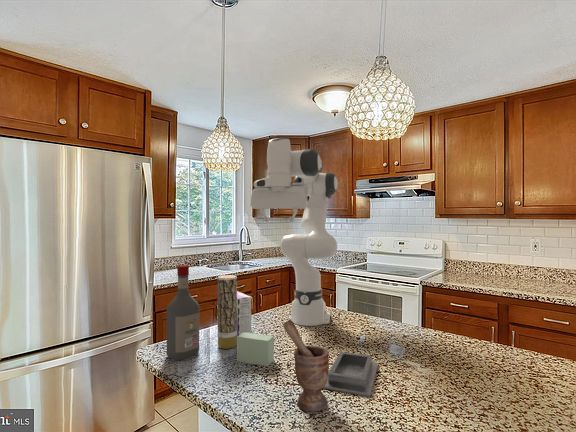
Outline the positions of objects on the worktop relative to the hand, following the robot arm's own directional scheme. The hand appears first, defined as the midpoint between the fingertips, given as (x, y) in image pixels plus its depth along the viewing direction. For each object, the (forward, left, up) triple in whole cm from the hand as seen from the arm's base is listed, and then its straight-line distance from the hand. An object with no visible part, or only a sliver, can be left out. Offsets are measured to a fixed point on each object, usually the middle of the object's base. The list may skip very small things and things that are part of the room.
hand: (279, 221), depth 121 cm
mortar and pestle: (+32, +20, -45) cm, 58 cm away
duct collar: (+13, +28, -45) cm, 54 cm away
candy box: (-6, -20, -45) cm, 50 cm away
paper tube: (+5, -18, -45) cm, 49 cm away
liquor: (+17, -28, -45) cm, 56 cm away
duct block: (+13, -3, -45) cm, 47 cm away
